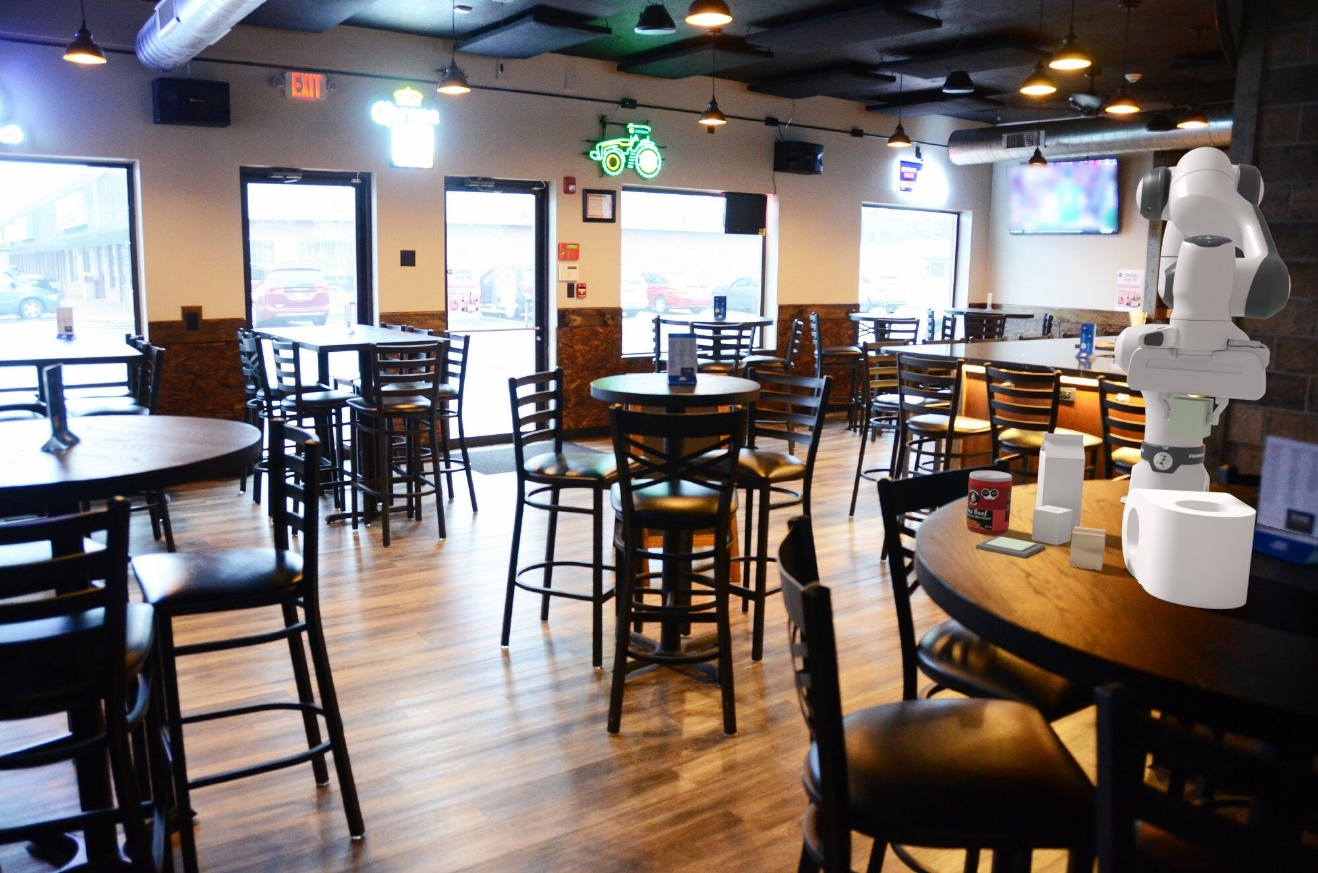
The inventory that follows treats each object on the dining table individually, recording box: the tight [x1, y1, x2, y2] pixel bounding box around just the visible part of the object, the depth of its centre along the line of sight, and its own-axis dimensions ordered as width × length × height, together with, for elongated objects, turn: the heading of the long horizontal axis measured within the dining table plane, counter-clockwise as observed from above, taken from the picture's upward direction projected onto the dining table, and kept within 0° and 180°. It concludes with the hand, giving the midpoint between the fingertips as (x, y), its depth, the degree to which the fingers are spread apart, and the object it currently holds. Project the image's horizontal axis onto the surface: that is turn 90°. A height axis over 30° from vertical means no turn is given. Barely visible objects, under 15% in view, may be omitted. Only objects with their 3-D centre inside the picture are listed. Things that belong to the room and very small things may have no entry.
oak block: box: [1069, 526, 1107, 571], centre depth 179 cm, size 5×5×6 cm
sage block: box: [1168, 396, 1215, 439], centre depth 171 cm, size 5×5×6 cm
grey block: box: [1031, 505, 1073, 546], centre depth 195 cm, size 5×5×6 cm
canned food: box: [965, 470, 1013, 535], centre depth 202 cm, size 8×8×11 cm
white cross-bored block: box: [1121, 488, 1257, 610], centre depth 169 cm, size 14×14×25 cm
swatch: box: [975, 535, 1046, 559], centre depth 190 cm, size 9×9×1 cm
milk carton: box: [1035, 432, 1086, 536], centre depth 202 cm, size 7×7×19 cm
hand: (1190, 422), depth 171 cm, fingers closed on sage block, 5 cm apart
